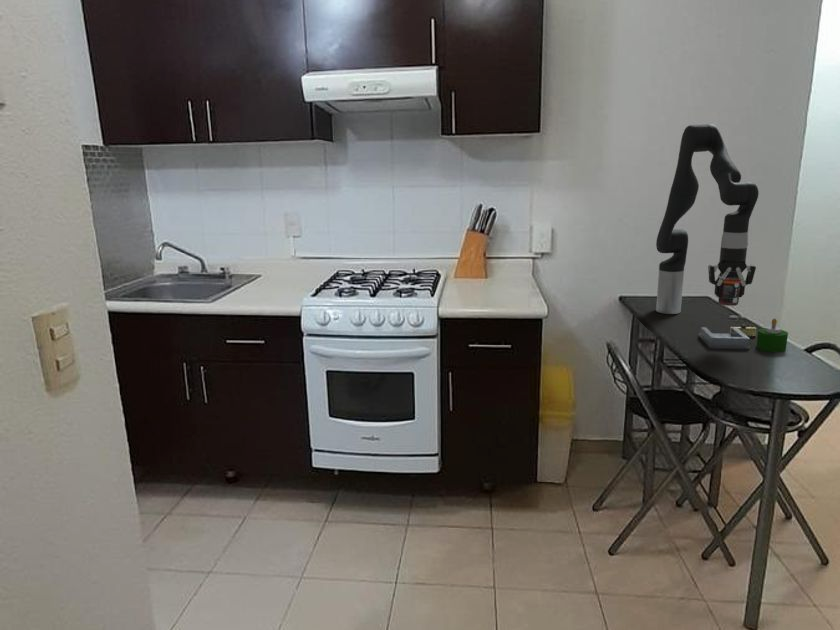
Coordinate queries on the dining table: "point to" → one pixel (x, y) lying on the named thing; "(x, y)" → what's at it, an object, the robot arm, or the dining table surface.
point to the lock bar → (746, 330)
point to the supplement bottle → (730, 290)
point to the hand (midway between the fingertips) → (728, 296)
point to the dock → (725, 339)
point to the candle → (772, 338)
